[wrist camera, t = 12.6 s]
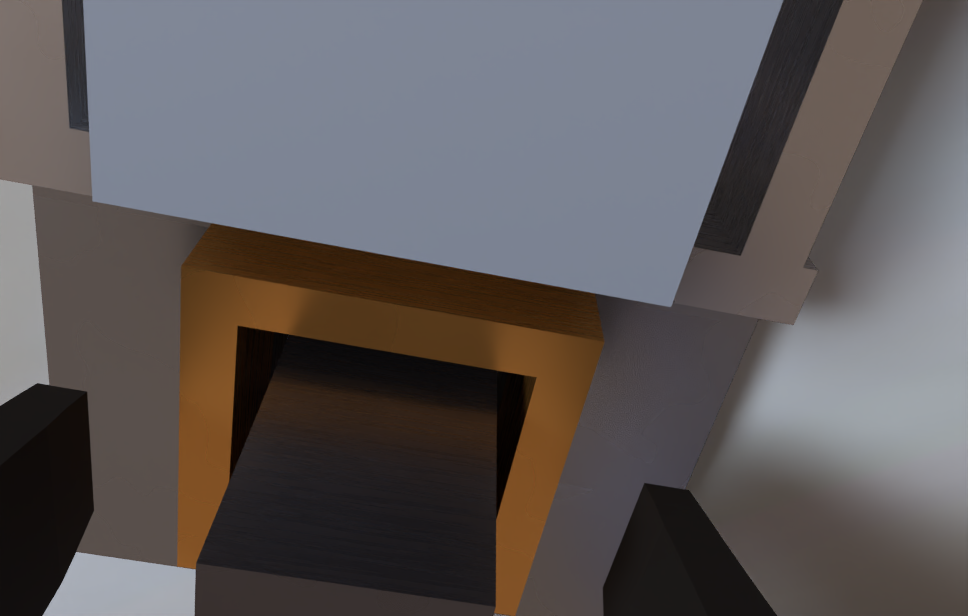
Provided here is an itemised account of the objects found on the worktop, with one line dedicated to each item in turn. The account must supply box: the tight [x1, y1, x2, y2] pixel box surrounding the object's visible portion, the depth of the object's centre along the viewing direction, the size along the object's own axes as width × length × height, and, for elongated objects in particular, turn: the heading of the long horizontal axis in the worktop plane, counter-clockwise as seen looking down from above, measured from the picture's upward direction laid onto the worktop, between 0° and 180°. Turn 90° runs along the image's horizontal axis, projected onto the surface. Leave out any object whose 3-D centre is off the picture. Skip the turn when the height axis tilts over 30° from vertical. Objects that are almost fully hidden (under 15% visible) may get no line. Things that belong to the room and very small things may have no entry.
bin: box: [0, 0, 923, 616], centre depth 11 cm, size 17×11×4 cm, turn 169°
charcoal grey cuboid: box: [195, 335, 497, 616], centre depth 11 cm, size 3×3×7 cm
